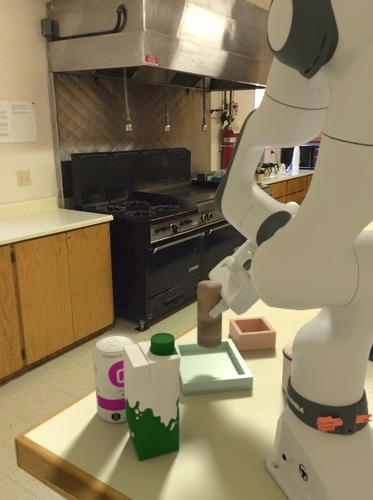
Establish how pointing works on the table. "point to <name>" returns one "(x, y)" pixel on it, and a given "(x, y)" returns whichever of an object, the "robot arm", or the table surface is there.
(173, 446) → the milk carton
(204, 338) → the walnut canister
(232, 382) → the sage tray
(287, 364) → the teacup with lid
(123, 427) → the table surface
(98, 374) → the supplement can
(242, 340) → the terracotta holder
